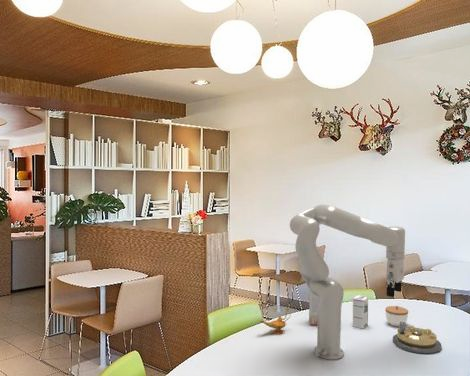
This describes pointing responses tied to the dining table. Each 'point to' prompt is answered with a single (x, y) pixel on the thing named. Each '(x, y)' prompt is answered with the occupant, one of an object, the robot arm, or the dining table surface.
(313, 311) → the cracker box
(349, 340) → the dining table surface
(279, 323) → the magic lamp
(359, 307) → the syrup box
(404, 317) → the lidded jar
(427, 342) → the gold dish
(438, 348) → the base
